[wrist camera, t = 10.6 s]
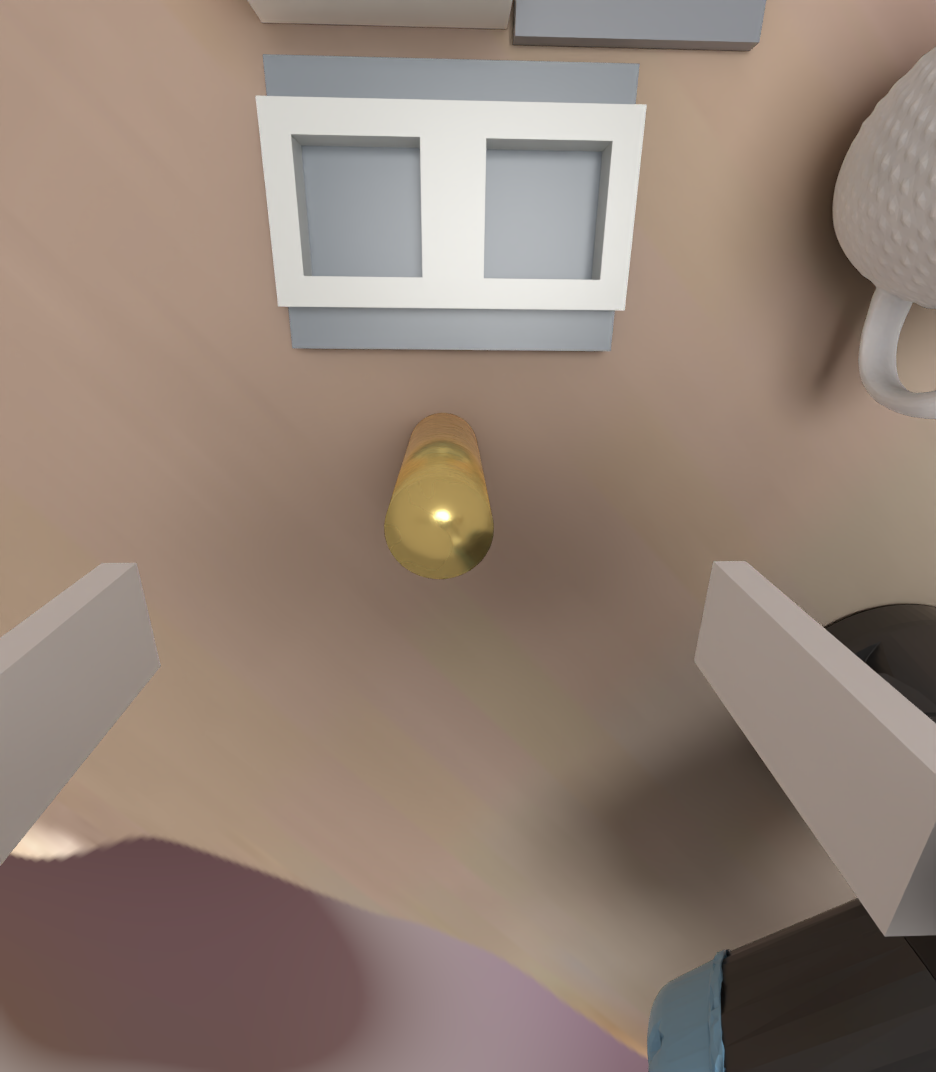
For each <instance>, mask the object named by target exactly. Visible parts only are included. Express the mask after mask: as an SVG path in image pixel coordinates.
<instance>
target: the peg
mask: <svg viewBox="0 0 936 1072" xmlns="http://www.w3.org/2000/svg"><path fill="white" fill-rule="evenodd" d="M384 532H385V538H386V542H387V545H388V547H389V550H390V551H391V553H392V555H393V556H394V557H395V559H396V560H397V561H398V562H399V563H400V564H401V565H402V566H403V567H405V568H406V569H407V570H409V571H411V572H412V573H415V574H417V575H419V576H422V577H426V578H431V579H448V578H453V577H456V576H460V575H462V574H464V573H466V572H468V571H470V570H471V569H473V568H474V567H475V566H476V565H478V564H479V563H480V562H481V561H482V559H483V558H484V557H485V555H486V554H487V552H488V550H489V548H490V545H491V543H492V539H493V532H494V525H493V518H492V513H491V508H490V503H489V498H488V494H487V489H486V484H485V479H484V474H483V469H482V464H481V459H480V454H479V449H478V444H477V439H476V436H475V434H474V431H473V430H472V428H471V427H470V425H469V424H468V423H467V422H466V421H464V420H463V419H462V418H460V417H458V416H456V415H453V414H449V413H437V414H433V415H430V416H428V417H426V418H424V419H423V420H422V421H420V422H419V423H418V424H417V426H416V427H415V428H414V430H413V432H412V434H411V437H410V440H409V444H408V447H407V450H406V453H405V456H404V460H403V463H402V466H401V469H400V472H399V475H398V479H397V482H396V485H395V488H394V491H393V495H392V498H391V501H390V504H389V507H388V510H387V514H386V517H385V523H384Z"/></svg>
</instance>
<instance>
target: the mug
mask: <svg viewBox="0 0 936 1072" xmlns="http://www.w3.org/2000/svg"><path fill="white" fill-rule="evenodd" d="M833 225H834V229H835V232H836V236H837V239H838V241H839V244H840V246H841V248H842V249H843V251H844V253H845V255H846V256H847V258H848V259H849V260H850V262H851V263H852V264H853V266H854V267H855V268H856V269H857V270H858V271H859V272H860V273H861V275H863V276H864V277H866V278H867V279H869V280H870V281H871V282H872V283H873V284H874V285H875V286H876V290H875V292H874V294H873V297H872V300H871V303H870V307H869V310H868V313H867V316H866V320H865V323H864V327H863V330H862V334H861V341H860V347H859V358H858V364H859V373H860V377H861V380H862V383H863V385H864V387H865V389H866V390H867V392H868V393H869V395H870V396H871V397H872V398H873V399H875V400H876V401H877V402H878V403H880V404H881V405H883V406H885V407H886V408H888V409H890V410H893V411H895V412H898V413H900V414H903V415H907V416H911V417H917V418H925V419H936V390H935V391H931V392H924V393H913V392H910V391H908V390H907V389H906V388H905V387H904V386H903V385H902V383H901V382H900V380H899V377H898V373H897V368H896V351H897V344H898V339H899V335H900V331H901V328H902V326H903V323H904V321H905V318H906V316H907V314H908V312H909V310H910V308H911V306H912V303H916V304H918V305H920V306H922V307H924V308H930V309H936V46H935V47H934V48H933V49H932V50H931V51H929V52H928V53H926V54H925V55H923V56H922V57H921V58H920V59H919V60H918V62H917V63H916V64H915V65H914V66H913V68H912V69H911V70H910V71H909V72H908V73H907V74H905V75H904V76H903V77H902V78H900V79H899V80H898V81H897V82H896V83H895V84H894V85H893V86H892V88H891V89H890V91H889V93H888V94H887V95H886V96H885V97H884V98H882V99H881V100H880V101H879V102H878V103H877V105H876V106H875V108H874V111H873V112H872V113H871V115H870V116H869V117H868V118H867V119H866V120H865V121H864V122H863V123H862V126H861V128H860V130H859V132H858V134H857V136H856V137H855V139H854V140H853V142H852V144H851V146H850V148H849V150H848V152H847V154H846V156H845V158H844V161H843V163H842V166H841V169H840V171H839V174H838V178H837V182H836V185H835V191H834V197H833Z"/></svg>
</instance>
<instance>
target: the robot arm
mask: <svg viewBox="0 0 936 1072" xmlns="http://www.w3.org/2000/svg"><path fill="white" fill-rule="evenodd" d="M694 662H695V664H696V665H697V666H698V668H699V669H700V671H701V672H702V674H703V675H704V677H705V678H706V679H707V681H708V682H709V684H710V685H711V687H712V688H713V690H714V691H715V692H716V694H717V695H718V697H719V698H720V700H721V701H722V703H723V704H724V705H725V707H726V708H727V710H728V711H729V713H730V714H731V716H732V717H733V718H734V720H735V721H736V723H737V724H738V726H739V727H740V729H741V730H742V731H743V733H744V734H745V736H746V737H747V739H748V740H749V742H750V743H751V744H752V746H753V747H754V749H755V750H756V752H757V753H758V755H759V756H760V757H761V759H762V760H763V762H764V763H765V765H766V766H767V768H768V769H769V770H770V772H771V773H772V775H773V776H774V778H775V779H776V781H777V782H778V783H779V785H780V786H781V788H782V789H783V791H784V792H785V794H786V795H787V796H788V798H789V799H790V801H791V802H792V804H793V805H794V807H795V808H796V809H797V811H798V812H799V814H800V815H801V817H802V818H803V820H804V821H805V822H806V824H807V825H808V827H809V828H810V830H811V831H812V833H813V834H814V835H815V837H816V838H817V840H818V841H819V843H820V844H821V846H822V847H823V848H824V850H825V851H826V853H827V854H828V856H829V857H830V859H831V860H832V861H833V863H834V864H835V866H836V867H837V869H838V870H839V872H840V873H841V874H842V876H843V877H844V879H845V880H846V882H847V883H848V884H849V886H850V887H851V889H852V890H853V892H854V893H855V895H856V896H857V897H858V898H856V899H854V900H851V901H849V902H847V903H844V904H842V905H839V906H837V907H835V908H832V909H830V910H828V911H825V912H823V913H820V914H818V915H816V916H813V917H811V918H809V919H806V920H804V921H801V922H799V923H797V924H794V925H792V926H790V927H787V928H785V929H782V930H780V931H778V932H775V933H773V934H771V935H768V936H766V937H763V938H761V939H759V940H756V941H754V942H752V943H749V944H747V945H744V946H742V947H740V948H737V949H735V950H733V951H731V950H729V949H728V950H722V951H720V952H717V954H716V955H715V957H714V959H713V960H711V961H709V962H707V963H705V964H703V965H701V966H700V967H698V968H696V969H694V970H692V971H690V972H688V973H686V974H684V975H682V976H680V977H678V978H676V979H674V980H672V981H670V982H669V983H667V984H666V985H665V986H664V987H663V988H662V989H661V990H660V992H659V993H658V995H657V997H656V998H655V1000H654V1003H653V1006H652V1009H651V1013H650V1018H649V1024H648V1035H647V1050H648V1063H649V1072H936V607H931V606H925V605H894V606H887V607H881V608H876V609H872V610H868V611H865V612H862V613H859V614H856V615H853V616H851V617H848V618H846V619H843V620H841V621H839V622H837V623H835V624H833V625H831V626H830V627H828V628H826V629H825V628H823V627H822V626H821V625H820V624H819V623H818V622H816V621H815V620H814V619H813V618H812V617H811V616H809V615H808V614H807V613H806V612H805V611H804V610H802V609H801V608H800V607H799V606H798V605H797V604H795V603H794V602H793V601H792V600H791V599H789V598H788V597H787V596H786V595H785V594H784V593H782V592H781V591H780V590H779V589H778V588H777V587H775V586H774V585H773V584H772V583H771V582H770V581H768V580H767V579H766V578H765V577H764V576H763V575H761V574H760V573H759V572H758V571H757V570H756V569H754V568H753V567H752V566H751V565H750V564H749V563H747V562H746V561H713V565H712V570H711V575H710V580H709V586H708V591H707V596H706V601H705V606H704V611H703V616H702V622H701V627H700V632H699V637H698V642H697V647H696V652H695V658H694ZM160 666H161V665H160V661H159V656H158V652H157V648H156V644H155V639H154V635H153V631H152V627H151V622H150V618H149V614H148V609H147V605H146V601H145V597H144V592H143V588H142V584H141V579H140V575H139V571H138V567H137V563H101V564H100V565H98V566H97V567H96V568H94V569H93V570H92V571H90V572H89V573H88V574H86V575H85V576H83V577H82V578H81V579H79V580H78V581H77V582H75V583H74V584H73V585H71V586H70V587H69V588H67V589H66V590H64V591H63V592H62V593H60V594H59V595H58V596H56V597H55V598H54V599H52V600H51V601H50V602H48V603H47V604H45V605H44V606H43V607H41V608H40V609H39V610H37V611H36V612H35V613H33V614H32V615H31V616H29V617H28V618H26V619H25V620H24V621H22V622H21V623H20V624H18V625H17V626H16V627H14V628H13V629H12V630H10V631H9V632H7V633H6V634H5V635H3V636H2V637H1V638H0V865H1V864H2V863H3V862H4V860H5V859H6V858H7V857H8V856H9V854H10V853H11V852H12V851H13V849H14V848H15V847H16V846H17V844H18V843H19V842H20V841H21V839H22V838H23V837H24V836H25V834H26V833H27V832H28V831H29V829H30V828H31V827H32V826H33V824H34V823H35V822H36V821H37V819H38V818H39V817H40V816H41V814H42V813H43V812H44V811H45V810H46V808H47V807H48V806H49V805H50V803H51V802H52V801H53V800H54V798H55V797H56V796H57V795H58V793H59V792H60V791H61V790H62V788H63V787H64V786H65V785H66V783H67V782H68V781H69V780H70V778H71V777H72V776H73V775H74V773H75V772H76V771H77V770H78V768H79V767H80V766H81V765H82V763H83V762H84V761H85V760H86V758H87V757H88V756H89V755H90V753H91V752H92V751H93V750H94V749H95V747H96V746H97V745H98V744H99V742H100V741H101V740H102V739H103V737H104V736H105V735H106V734H107V732H108V731H109V730H110V729H111V727H112V726H113V725H114V724H115V722H116V721H117V720H118V719H119V717H120V716H121V715H122V714H123V712H124V711H125V710H126V709H127V707H128V706H129V705H130V704H131V702H132V701H133V700H134V699H135V697H136V696H137V695H138V694H139V692H140V691H141V690H142V689H143V688H144V686H145V685H146V684H147V683H148V681H149V680H150V679H151V678H152V676H153V675H154V674H155V673H156V671H157V670H158V669H159V668H160Z"/></svg>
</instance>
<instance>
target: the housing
mask: <svg viewBox="0 0 936 1072" xmlns="http://www.w3.org/2000/svg"><path fill="white" fill-rule="evenodd" d="M247 1H248V2H249V4H250V5H251V7H252V8H253V10H254V11H255V13H256V14H257V16H258V17H259V19H260V21H261V22H262V23H295V24H333V25H370V26H408V27H445V28H483V29H507V26H508V21H509V16H510V11H511V6H512V1H513V0H247Z"/></svg>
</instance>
